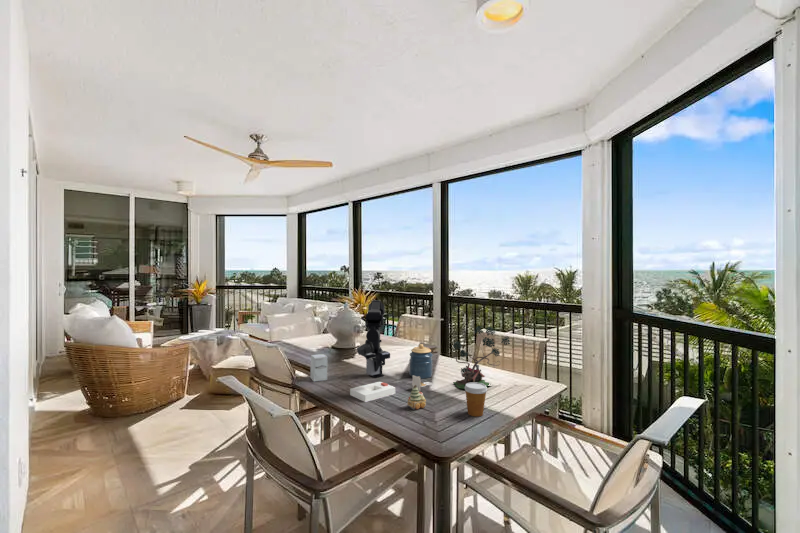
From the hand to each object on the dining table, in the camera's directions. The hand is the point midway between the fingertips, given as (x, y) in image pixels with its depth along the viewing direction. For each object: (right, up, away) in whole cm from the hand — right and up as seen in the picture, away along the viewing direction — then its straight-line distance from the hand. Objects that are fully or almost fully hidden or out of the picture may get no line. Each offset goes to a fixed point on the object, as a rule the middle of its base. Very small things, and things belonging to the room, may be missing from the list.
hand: (373, 370), depth 187 cm
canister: (+25, -12, +33) cm, 42 cm away
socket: (0, -12, 0) cm, 12 cm away
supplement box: (-31, -11, +22) cm, 40 cm away
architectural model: (+21, -13, +7) cm, 26 cm away
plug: (0, -2, 0) cm, 2 cm away
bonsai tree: (+55, -12, +14) cm, 58 cm away
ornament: (+20, -12, -15) cm, 28 cm away
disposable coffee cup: (+45, -13, -22) cm, 51 cm away
